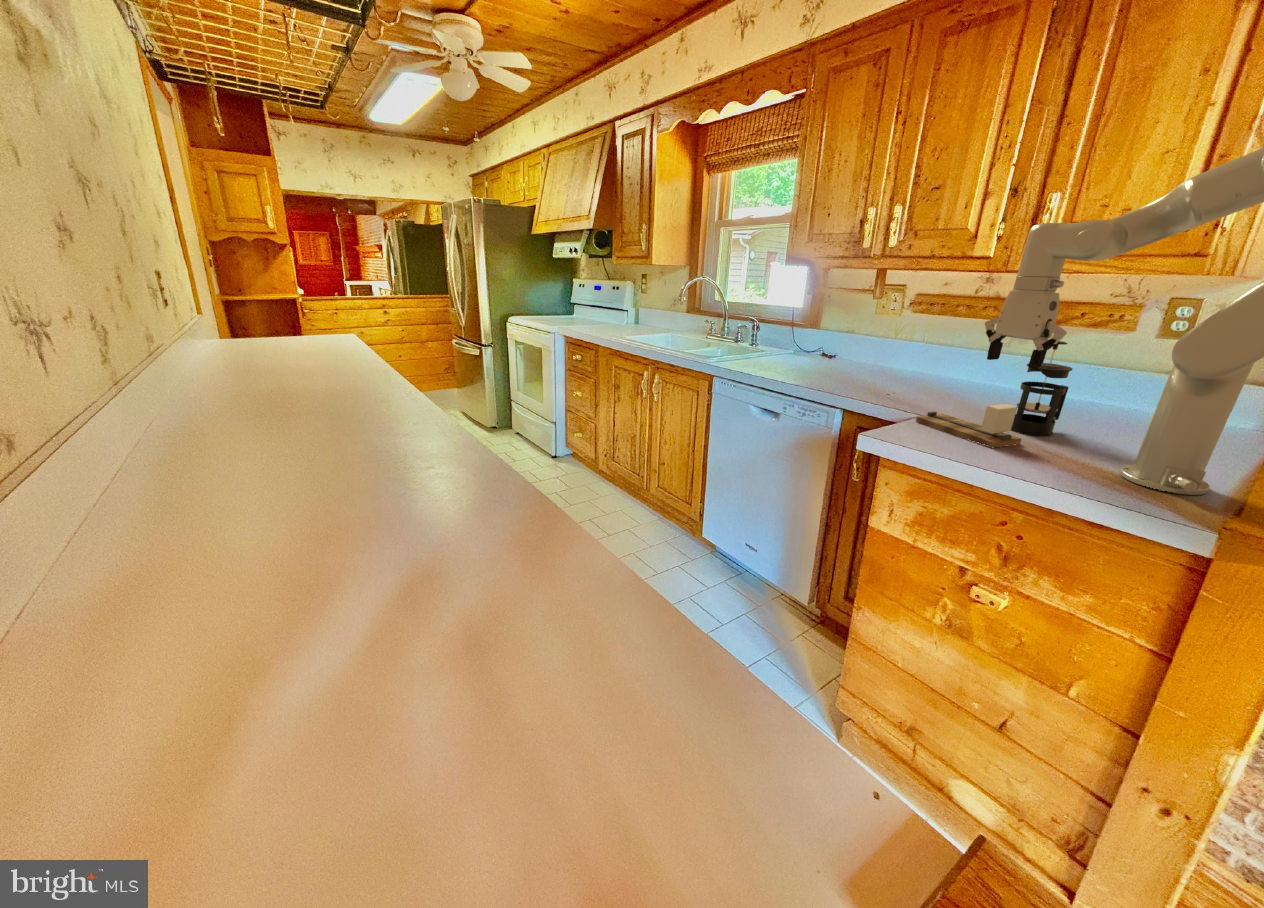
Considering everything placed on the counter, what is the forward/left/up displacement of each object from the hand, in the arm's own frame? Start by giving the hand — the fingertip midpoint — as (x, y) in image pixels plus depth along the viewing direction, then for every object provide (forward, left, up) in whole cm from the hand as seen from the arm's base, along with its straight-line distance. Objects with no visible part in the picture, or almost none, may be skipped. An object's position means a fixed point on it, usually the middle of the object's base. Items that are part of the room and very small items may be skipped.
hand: (1012, 363), depth 116 cm
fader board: (+6, +4, -19) cm, 20 cm away
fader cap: (0, 0, -17) cm, 17 cm away
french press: (+13, -13, -19) cm, 27 cm away
